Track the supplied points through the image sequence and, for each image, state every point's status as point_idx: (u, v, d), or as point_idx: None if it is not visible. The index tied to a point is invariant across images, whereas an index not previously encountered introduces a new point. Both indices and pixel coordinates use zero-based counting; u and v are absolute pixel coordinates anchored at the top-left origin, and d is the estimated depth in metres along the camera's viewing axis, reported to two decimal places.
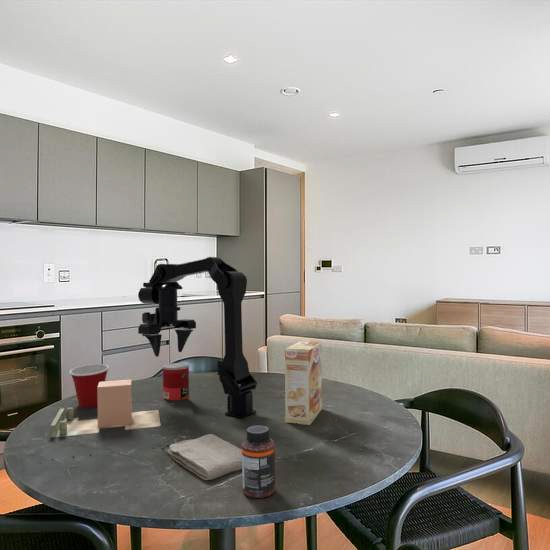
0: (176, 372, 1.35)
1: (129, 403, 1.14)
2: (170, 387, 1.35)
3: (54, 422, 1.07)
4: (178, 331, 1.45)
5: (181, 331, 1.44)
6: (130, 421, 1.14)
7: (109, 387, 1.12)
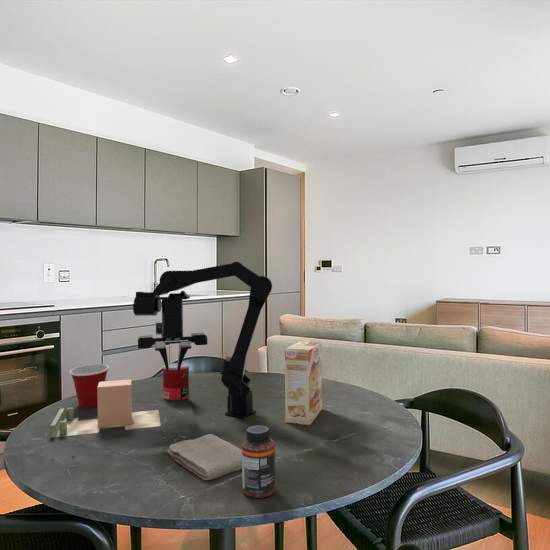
0: (176, 372, 1.35)
1: (129, 403, 1.14)
2: (170, 387, 1.35)
3: (54, 422, 1.07)
4: (179, 347, 1.27)
5: (179, 347, 1.26)
6: (130, 421, 1.14)
7: (109, 387, 1.12)
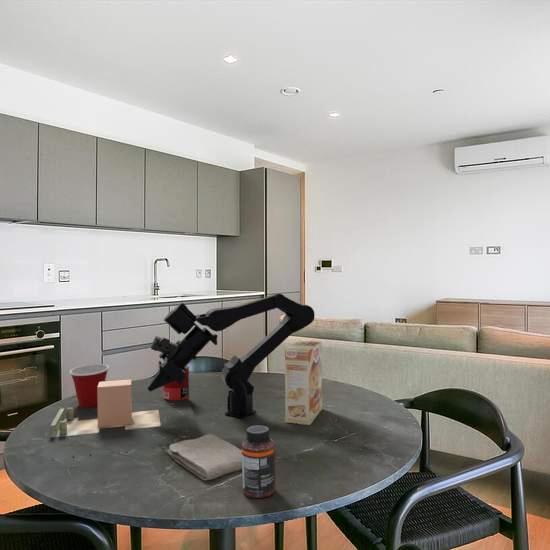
0: None
1: (129, 403, 1.14)
2: (170, 387, 1.35)
3: (54, 422, 1.07)
4: None
5: None
6: (130, 421, 1.14)
7: (109, 387, 1.12)
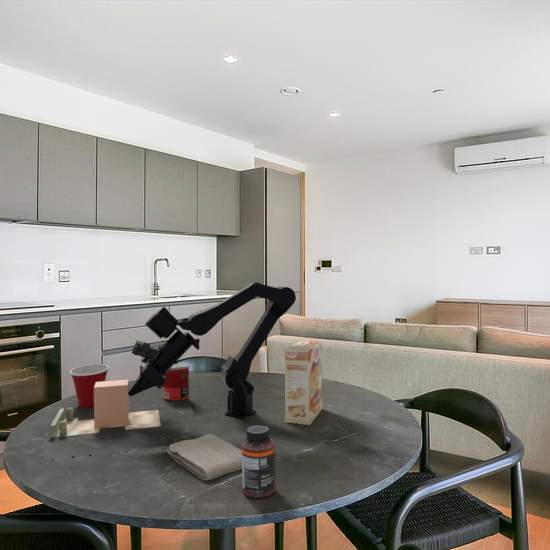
0: (176, 372, 1.35)
1: (126, 403, 1.14)
2: (170, 387, 1.35)
3: (54, 422, 1.07)
4: None
5: None
6: (127, 421, 1.14)
7: (106, 387, 1.12)
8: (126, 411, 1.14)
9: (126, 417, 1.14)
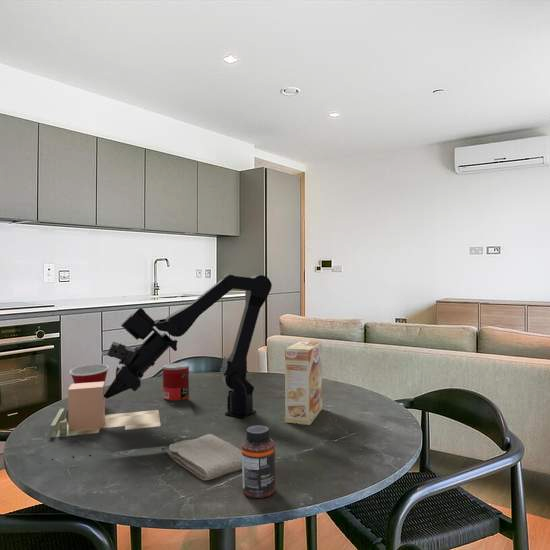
0: (176, 372, 1.35)
1: (101, 406, 1.12)
2: (170, 387, 1.35)
3: (54, 422, 1.07)
4: None
5: None
6: (102, 424, 1.12)
7: (80, 389, 1.11)
8: (101, 413, 1.12)
9: (101, 420, 1.12)
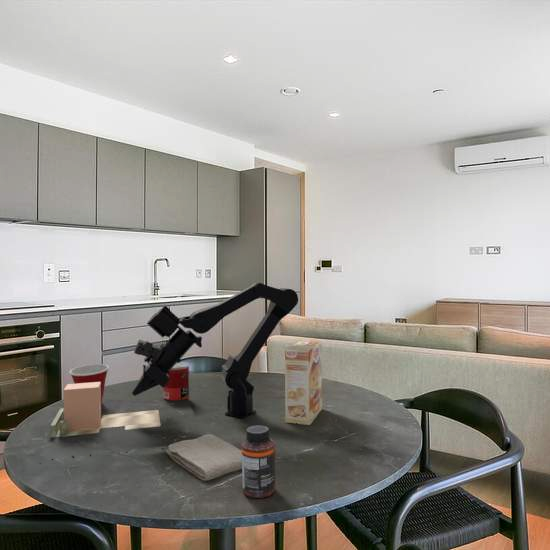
0: (176, 372, 1.35)
1: (97, 406, 1.12)
2: (170, 387, 1.35)
3: (54, 422, 1.07)
4: None
5: None
6: (98, 424, 1.12)
7: (76, 390, 1.10)
8: (97, 414, 1.12)
9: (97, 420, 1.12)
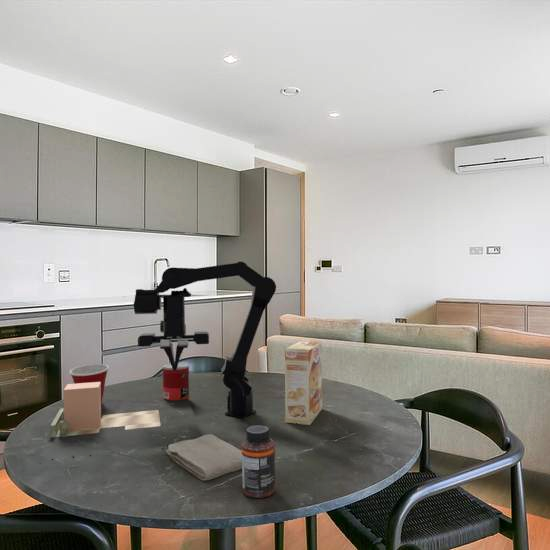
0: (176, 372, 1.35)
1: (97, 406, 1.12)
2: (170, 387, 1.35)
3: (54, 422, 1.07)
4: None
5: (177, 346, 1.23)
6: (98, 424, 1.12)
7: (76, 390, 1.10)
8: (97, 414, 1.12)
9: (97, 420, 1.12)
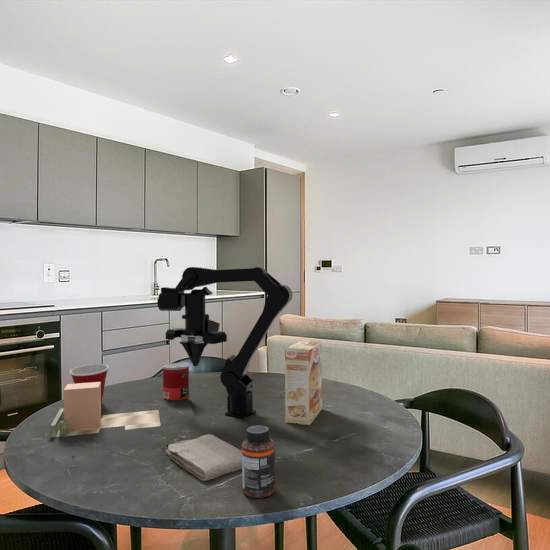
0: (176, 372, 1.35)
1: (97, 406, 1.12)
2: (170, 387, 1.35)
3: (54, 422, 1.07)
4: None
5: None
6: (98, 424, 1.12)
7: (76, 390, 1.10)
8: (97, 414, 1.12)
9: (97, 420, 1.12)
